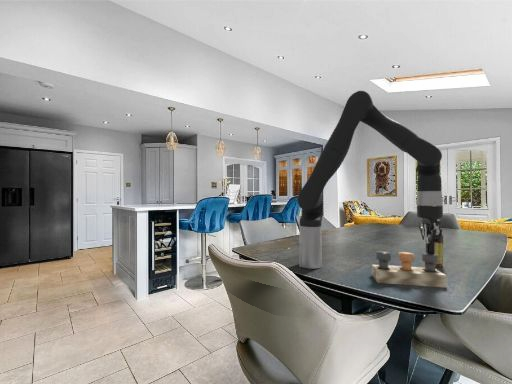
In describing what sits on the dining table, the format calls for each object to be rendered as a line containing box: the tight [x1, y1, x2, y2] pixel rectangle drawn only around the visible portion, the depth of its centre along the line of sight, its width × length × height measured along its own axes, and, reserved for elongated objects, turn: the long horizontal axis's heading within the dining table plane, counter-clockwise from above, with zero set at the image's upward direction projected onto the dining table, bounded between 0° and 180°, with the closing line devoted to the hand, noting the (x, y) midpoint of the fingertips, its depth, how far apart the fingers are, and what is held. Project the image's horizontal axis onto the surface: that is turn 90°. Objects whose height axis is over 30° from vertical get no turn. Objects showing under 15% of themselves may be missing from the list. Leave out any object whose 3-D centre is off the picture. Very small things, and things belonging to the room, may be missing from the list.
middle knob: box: [398, 251, 415, 271], centre depth 92 cm, size 5×5×6 cm
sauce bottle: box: [434, 219, 444, 268], centre depth 111 cm, size 6×6×20 cm
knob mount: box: [371, 264, 447, 289], centre depth 91 cm, size 21×9×4 cm, turn 77°
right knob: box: [421, 252, 438, 273], centre depth 90 cm, size 5×5×6 cm
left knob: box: [375, 250, 392, 270], centre depth 93 cm, size 5×5×6 cm
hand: (430, 253), depth 90 cm, fingers closed
